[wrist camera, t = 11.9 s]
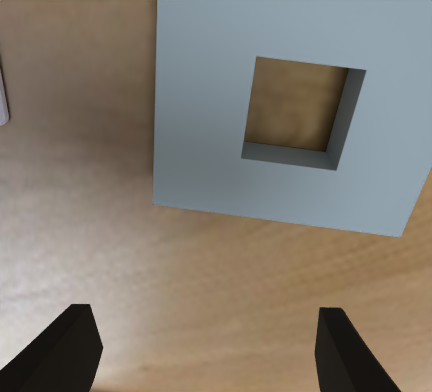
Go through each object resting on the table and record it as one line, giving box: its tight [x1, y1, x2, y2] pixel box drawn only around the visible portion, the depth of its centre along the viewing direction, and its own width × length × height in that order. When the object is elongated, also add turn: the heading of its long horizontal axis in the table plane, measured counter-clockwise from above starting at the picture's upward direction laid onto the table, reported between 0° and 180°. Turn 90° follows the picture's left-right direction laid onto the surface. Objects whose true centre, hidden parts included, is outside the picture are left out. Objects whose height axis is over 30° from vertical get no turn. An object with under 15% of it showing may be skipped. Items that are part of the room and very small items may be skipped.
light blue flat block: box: [153, 0, 432, 237], centre depth 17 cm, size 13×11×2 cm
